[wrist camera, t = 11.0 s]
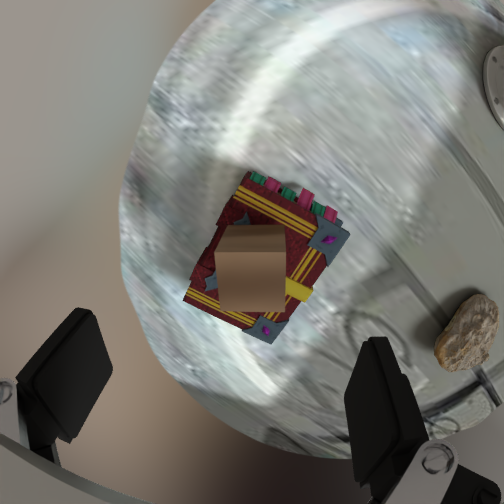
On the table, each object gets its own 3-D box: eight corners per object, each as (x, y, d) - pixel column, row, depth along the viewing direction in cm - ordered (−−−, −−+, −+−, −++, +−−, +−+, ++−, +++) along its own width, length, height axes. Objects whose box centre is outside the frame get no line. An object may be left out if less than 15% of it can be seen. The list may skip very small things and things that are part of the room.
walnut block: (227, 225, 26) (214, 252, 21) (284, 224, 26) (286, 252, 20) (231, 275, 28) (220, 311, 23) (284, 275, 28) (284, 312, 22)
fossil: (471, 279, 31) (522, 317, 25) (464, 288, 37) (508, 320, 31) (424, 356, 32) (475, 394, 26) (425, 352, 39) (468, 384, 32)
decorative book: (190, 281, 35) (177, 303, 30) (252, 157, 28) (247, 163, 24) (273, 321, 36) (271, 347, 31) (347, 211, 30) (359, 226, 25)
